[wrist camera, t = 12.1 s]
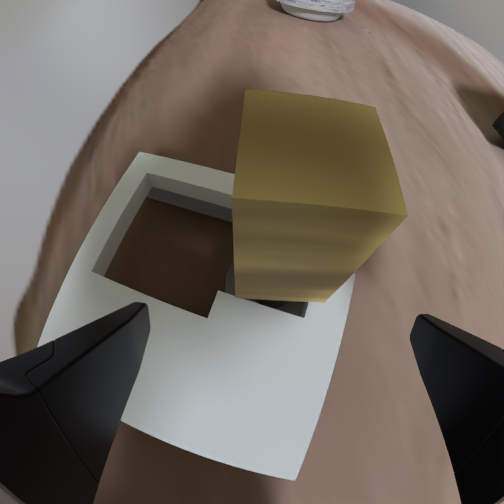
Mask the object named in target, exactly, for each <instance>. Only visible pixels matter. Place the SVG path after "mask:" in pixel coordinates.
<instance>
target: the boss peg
mask: <svg viewBox="0 0 504 504" xmlns="http://www.w3.org/2000/svg"><path fill="white" fill-rule="evenodd" d="M232 216H233V247H234V260H233V261H232V263H231V265H230V266H229V269H228V271H227V274H226V279H225V292H226V293H228V294H230V295H233V296H235V298H242V299H245V300H249V301H252V302H255V303H258V304H261V305H264V306H267V307H270V308H273V309H276V310H280V311H283V312H286V313H289V314H292V315H296V316H299V317H301V313H302V310H303V306H304V303H305V302H325V301H326V300H327V299H328V298H329V297H331V296H332V295H333V294H334V293H335V292H336V291H337V290H338V289H339V288H340V287H341V286H342V285H343V284H344V283H345V282H346V281H347V280H348V279H349V278H350V277H351V276H352V275H353V274H354V273H355V272H356V271H357V270H358V269H359V268H360V267H361V265H362V264H363V263H364V262H365V261H366V260H367V259H368V258H369V257H370V256H371V255H372V254H373V253H374V252H375V251H376V250H377V249H378V248H379V247H380V245H381V244H382V243H383V242H384V241H385V240H386V239H387V238H388V237H389V236H390V235H391V233H392V232H393V231H394V230H395V229H396V228H397V227H398V226H399V225H400V223H401V222H402V221H403V220H404V219H405V218H406V217H407V211H406V207H405V203H404V199H403V195H402V191H401V187H400V183H399V179H398V176H397V172H396V169H395V165H394V162H393V158H392V155H391V152H390V149H389V146H388V143H387V140H386V137H385V134H384V131H383V128H382V125H381V122H380V119H379V117H378V114H377V111H376V109H375V107H372V106H368V105H363V104H358V103H353V102H348V101H343V100H337V99H331V98H325V97H318V96H311V95H304V94H296V93H287V92H277V91H265V90H250V89H245V96H244V104H243V111H242V119H241V127H240V135H239V143H238V151H237V159H236V167H235V176H234V185H233V194H232Z"/></svg>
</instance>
